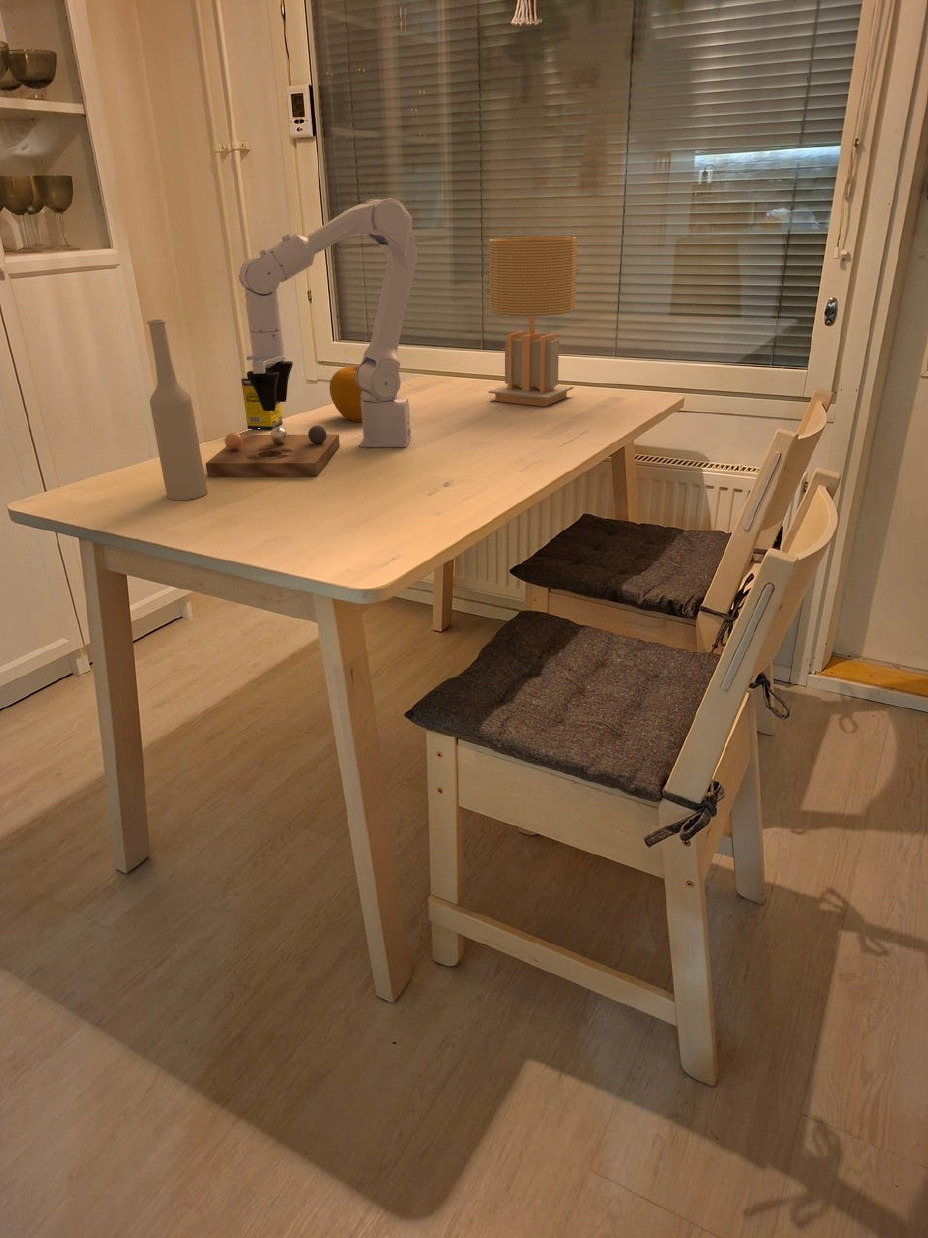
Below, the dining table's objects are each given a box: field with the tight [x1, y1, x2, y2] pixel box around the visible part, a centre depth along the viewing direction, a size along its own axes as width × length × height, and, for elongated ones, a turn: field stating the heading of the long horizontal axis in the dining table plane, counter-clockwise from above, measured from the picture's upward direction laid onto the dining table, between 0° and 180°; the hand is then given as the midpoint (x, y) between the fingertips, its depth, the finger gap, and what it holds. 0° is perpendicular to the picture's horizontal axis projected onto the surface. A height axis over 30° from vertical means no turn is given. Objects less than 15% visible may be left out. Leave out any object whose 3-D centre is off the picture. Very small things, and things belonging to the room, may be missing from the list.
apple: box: [329, 365, 362, 423], centre depth 186 cm, size 13×13×11 cm
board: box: [204, 433, 341, 478], centre depth 159 cm, size 20×20×2 cm
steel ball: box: [269, 426, 288, 444], centre depth 160 cm, size 3×3×3 cm
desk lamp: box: [488, 236, 578, 407], centre depth 195 cm, size 20×20×35 cm
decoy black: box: [307, 425, 327, 444], centre depth 159 cm, size 3×3×3 cm
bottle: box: [146, 318, 208, 502], centre depth 136 cm, size 7×7×28 cm
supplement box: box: [240, 376, 283, 431], centre depth 182 cm, size 6×6×11 cm
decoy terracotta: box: [224, 432, 243, 450], centre depth 157 cm, size 3×3×3 cm
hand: (275, 406), depth 157 cm, fingers open, 7 cm apart
